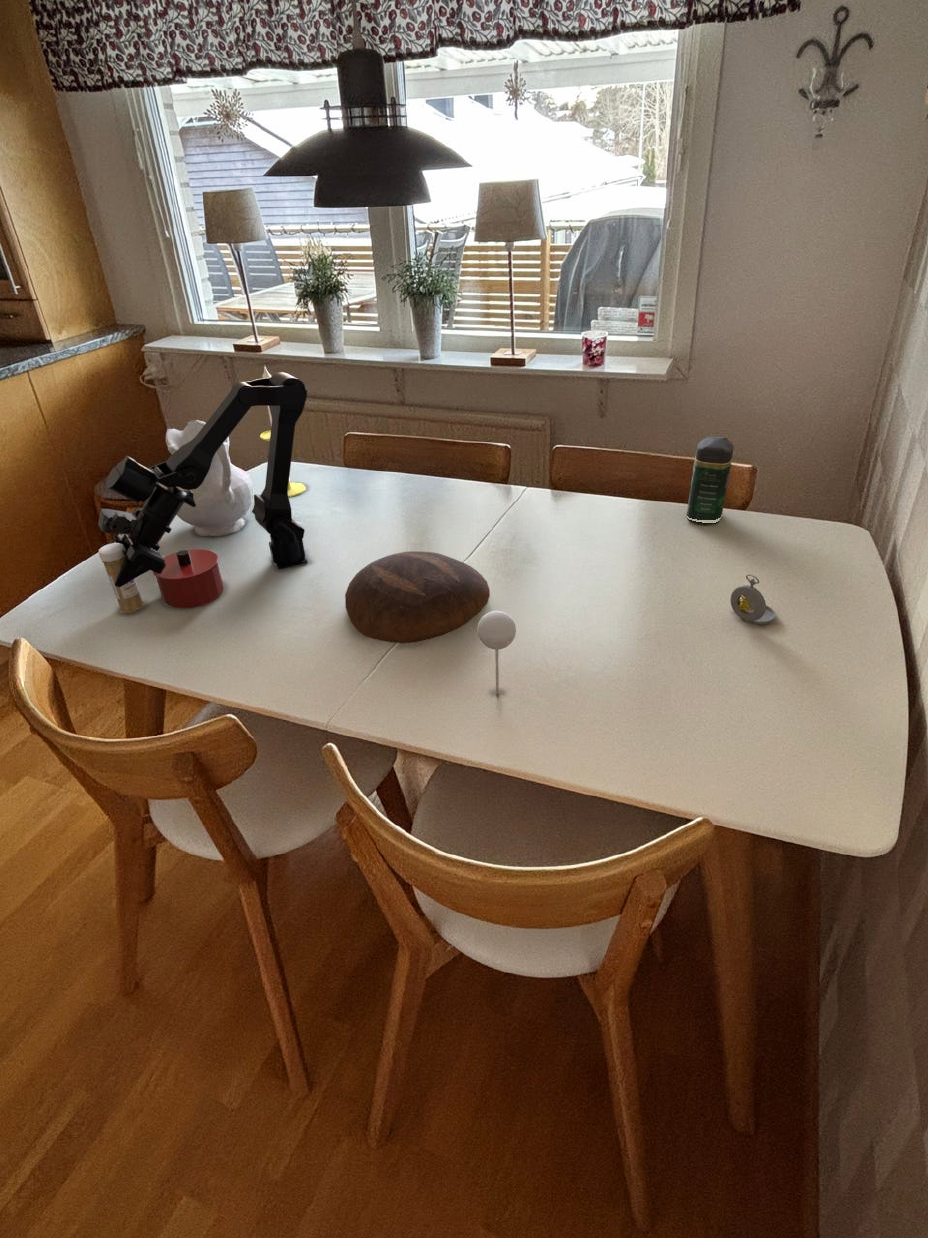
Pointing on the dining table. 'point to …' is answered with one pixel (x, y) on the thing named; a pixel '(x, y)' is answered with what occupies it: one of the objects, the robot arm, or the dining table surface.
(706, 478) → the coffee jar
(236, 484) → the ceramic pitcher
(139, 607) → the sprinkles bottle
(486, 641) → the lollipop
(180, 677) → the dining table surface
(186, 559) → the pot lid
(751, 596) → the pocket watch
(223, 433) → the robot arm
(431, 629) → the bread
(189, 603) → the pot
